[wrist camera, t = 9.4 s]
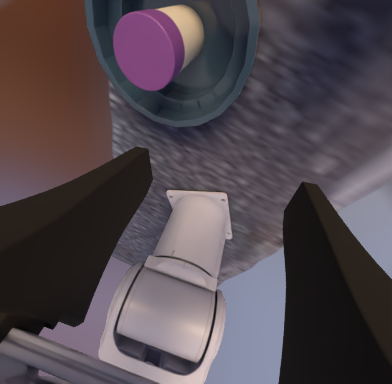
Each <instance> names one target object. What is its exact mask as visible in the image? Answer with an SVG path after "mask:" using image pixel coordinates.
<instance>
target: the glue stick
mask: <svg viewBox="0 0 392 384" xmlns="http://www.w3.org/2000/svg"><path fill="white" fill-rule="evenodd" d="M203 43H204V28H203V24H202V21H201V19H200V17H199V15H198V14H197V13H196V12H195V10H193V9H192V8H191V7H189V6H187V5H175V6H169V7H164V8H159V9H146V10H140V11H135V12H130V13H128V14H126V15H124V16H123V17H122V18H121V19H120V20H119V22H118V23H117V25H116V28H115V31H114V36H113V47H114V53H115V57H116V60H117V63H118V65H119V67H120V69H121V70H122V72H123V73H124V75H125V76H126V77H127V79H128V80H129V81H130V82H132V83H133V84H134V85H135V86H137V87H139V88H141V89H143V90H147V91H157V90H160V89H162V88H164V87H165V86H166V85H168V84H169V83H170V82H171V81H172V80H173V79H174V78H175V77H176V76H177V75H178V74H179V73H180V71H181V70H182V69H184V68H185V67H186V66H187V65H188V64H189V63H190V62H191V61H192V60H193V59H195V58H196V57H197V56H198V54H199V53H200V51H201V49H202V47H203Z"/></svg>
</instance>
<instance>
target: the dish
mask: <svg viewBox="0 0 392 384" xmlns="http://www.w3.org/2000/svg"><path fill="white" fill-rule="evenodd" d="M84 1H85V12H86V23H87V28H88V31H89V34H90V37H91V40H92V43H93V46H94V49H95V52H96V55H97V58H98V60H99V63H100V64H101V66H102V67H103V69H104V71H105V73H106V74H107V76H108V78H109V79H110V81H111V83H112V84H113V86H114V88H115V89H116V90H117V91H118V92H119V93H120V94H121V95H122V96H123V97H124V99H125V100H126V101H127V102H128V103H129V104H130V105H131V106H132V107H133V108H134V109H136V110H137V111H139V112H141V113H142V114H144V115H145V116H147V117H148V118H150V119H152V120H153V121H155V122H159V123H162V124H166V125H170V126H173V127H189V126H199V125H201V124H203V123H205V122H208V121H210V120H212V119H214V118H216V117H218V116H220V115H221V114H222V113H223V112H224V111H225V110H226V109H227V108H228V107H229V106H230V105H231V104H232V103H233V102H234V101H235V100H236V99H237V98H238V96H239V95H240V93H241V91H242V89H243V87H244V85H245V83H246V81H247V79H248V76H249V74H250V72H251V70H252V68H253V65H254V62H255V58H256V54H257V49H258V42H259V36H260V30H261V23H262V11H261V3H260V0H84ZM175 5H187V6H189V7H191V8H192V9H193V10H195V12H196V13H197V14H198V15H199V17H200V19H201V21H202V24H203V28H204V43H203V47H202V49H201V51H200V53H199V54H198V56H197V57H196V58H195V59H193V60H192V61H191V62H190V63H189V64H188V65H187V66H186V67H185V68H184V69H182V70H181V71H180V73H179V74H178V75H177V76H176V77H175V78H174V79H173V80H172V81H171V82H170V83H169V84H168V85H166V86H165V87H164V88H162V89H160V90H157V91H147V90H143V89H141V88H139V87H137V86H135V85H134V84H133V83H132V82H130V81H129V80H128V79H127V77H126V76H125V75H124V73H123V72H122V70H121V69H120V67H119V65H118V63H117V60H116V57H115V53H114V47H113V36H114V31H115V28H116V25H117V23H118V22H119V20H120V19H121V18H122V17H123V16H124V15H126V14H128V13H130V12H135V11H140V10H146V9H159V8H164V7H169V6H175Z"/></svg>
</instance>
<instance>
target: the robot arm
mask: <svg viewBox="0 0 392 384" xmlns="http://www.w3.org/2000/svg"><path fill="white" fill-rule="evenodd" d="M152 181H153V177H152V170H151V164H150V157H149V151H148V149H146V148H141V147H135V148H133V149H131V150H129V151H127V152H125V153H123V154H122V155H120V156H118V157H116V158H115V159H113V160H111V161H109V162H107V163H105V164H104V165H102V166H100V167H98V168H96V169H94V170H92V171H90V172H88V173H86V174H84V175H82V176H80V177H78V178H76V179H74V180H72V181H70V182H67V183H65V184H63V185H60V186H58V187H55V188H53V189H50V190H48V191H45V192H43V193H39V194H37V195H34V196H31V197H28V198H25V199H22V200H19V201H16V202H13V203H10V204H6V205H3V206H0V384H204V383H205V380H206V377H207V374H208V371H209V368H210V366H211V363H212V361H213V360H214V358H215V356H216V354H217V352H218V349H219V346H220V343H221V339H222V335H223V330H224V325H225V317H226V303H225V299H224V297H223V294H222V292H221V291H220V290H218V289H216V288H217V282H218V279H216V278H217V276H218V273H219V268H220V263H221V258H222V253H223V248H224V243H225V239H232V228H231V221H230V213H229V206H228V198H227V194H226V193H223V192H201V191H180V190H168V191H167V192H166V195H167V197H168V199H169V202H170V204H171V206H172V209H173V211H172V213H171V215H170V217H169V220H168V222H167V224H166V226H165V229H164V231H163V233H162V235H161V237H160V240H159V242H158V244H157V246H156V248H155V251H154V253H153V255H152V256H151V255H149V256H148V258H147V260H146V262H145V263H143V262H138V263H137V264H135V265H133V266H132V267H131V268H130V269H129V270H128V271H127V273H126V274H125V276H124V277H123V279H122V281H121V283H120V285H119V286H118V289H117V291H116V293H115V295H114V297H113V300H112V302H111V305H110V308H109V311H108V314H107V323H106V326H105V329H104V333H103V335H102V338H101V341H100V349H99V351H98V355H99V358H100V360H99V359H97V358H94V357H92V356H89V355H87V354H84V353H81V352H79V351H77V350H74V349H71V348H69V347H66V346H64V345H61V344H59V343H56V342H54V341H51V340H49V339H46V338H44V337H41V336H39V333H40V332H41V331H42V329H43V327H47V328H49V329H52V330H53V329H54V328H55V326H56V325H57V323H58V322H61V323H64V324H67V325H70V326H72V327H76V326H78V325H80V324H81V323H83V322H84V319H85V317H86V314H87V311H88V309H89V306H90V303H91V301H92V298H93V296H94V293H95V291H96V288H97V286H98V284H99V281H100V279H101V277H102V274H103V272H104V270H105V268H106V265H107V263H108V261H109V259H110V257H111V255H112V253H113V251H114V249H115V247H116V244H117V242H118V240H119V238H120V237H121V235H122V233H123V231H124V230H125V228H126V227H127V225H128V223H129V222H130V220H131V219H132V217H133V216H134V214H135V212H136V211H137V209H138V208H139V206H140V204H141V203H142V201H143V200H144V198H145V196H146V194H147V192H148V190H149V188H150V185H151V183H152ZM223 199H224V200H223ZM283 243H284V257H285V271H286V303H285V322H284V336H283V348H282V359H281V367H280V376H279V384H392V279H391V278H390V277H389V276H388V275H387V274H386V273H385V271H384V270H383V269H382V268H381V267H380V266H379V265H378V264H377V263H376V262H375V260H374V259H373V258H372V257H371V256H370V255H369V253H368V252H367V251H366V250H365V249H364V248H363V246H362V245H361V244H360V242H359V241H358V240H357V239H356V238H355V236H354V235H353V234H352V233H351V231H350V230H349V228H348V227H347V226H346V225H345V223H344V222H343V220H342V219H341V218H340V216H339V215H338V213H337V212H336V211H335V209H334V208H333V206H332V205H331V203H330V202H329V201H328V199H327V198H326V196H325V195H324V193H323V192H322V191H321V189H320V188H319V187H318V185H316V184H311V183H306V182H302V183H301V185H300V186H299V188H298V189H297V191H296V193H295V194H294V196H293V197H292V199H291V201H290V202H289V204H288V205H287V207H286V208H285V210H284V219H283ZM39 370H41V371H44V372H46V373H48V374H51V375H53V376H56V377H58V378H56V377H49V376H39V375H38V372H39Z"/></svg>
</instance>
